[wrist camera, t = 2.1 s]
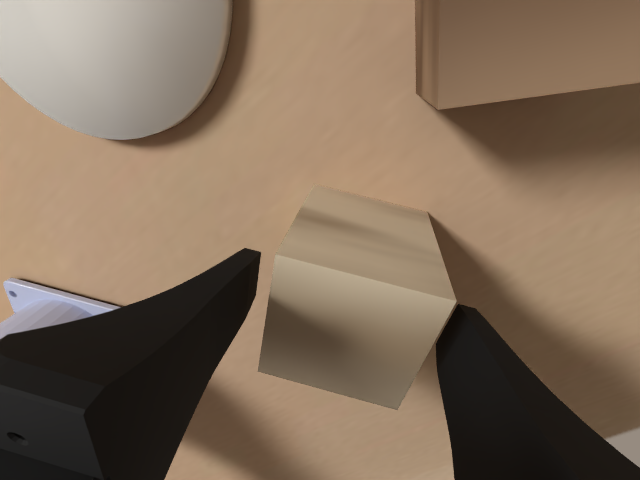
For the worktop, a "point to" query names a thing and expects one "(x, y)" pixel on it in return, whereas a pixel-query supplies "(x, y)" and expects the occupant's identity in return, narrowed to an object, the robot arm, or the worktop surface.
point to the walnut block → (523, 48)
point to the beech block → (355, 297)
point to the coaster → (114, 60)
